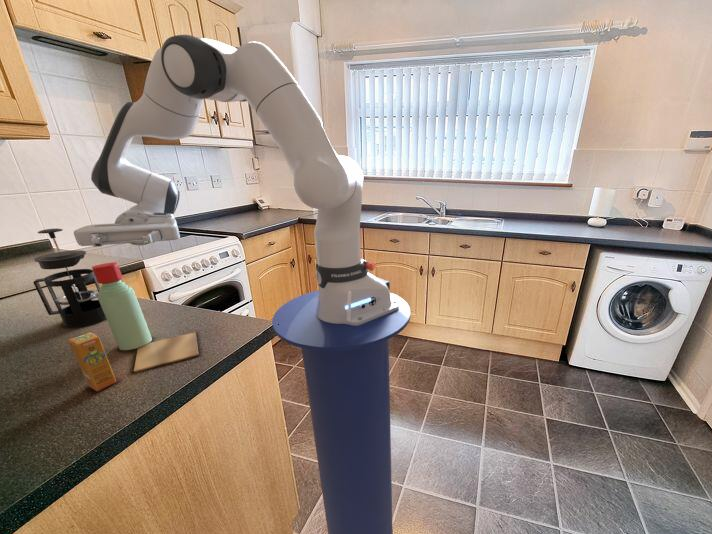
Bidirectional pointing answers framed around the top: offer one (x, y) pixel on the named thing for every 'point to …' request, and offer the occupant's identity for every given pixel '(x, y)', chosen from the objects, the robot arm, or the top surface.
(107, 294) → the sauce bottle
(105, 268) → the red cap
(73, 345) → the supplement box
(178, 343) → the cork coaster
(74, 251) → the french press
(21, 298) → the top surface
